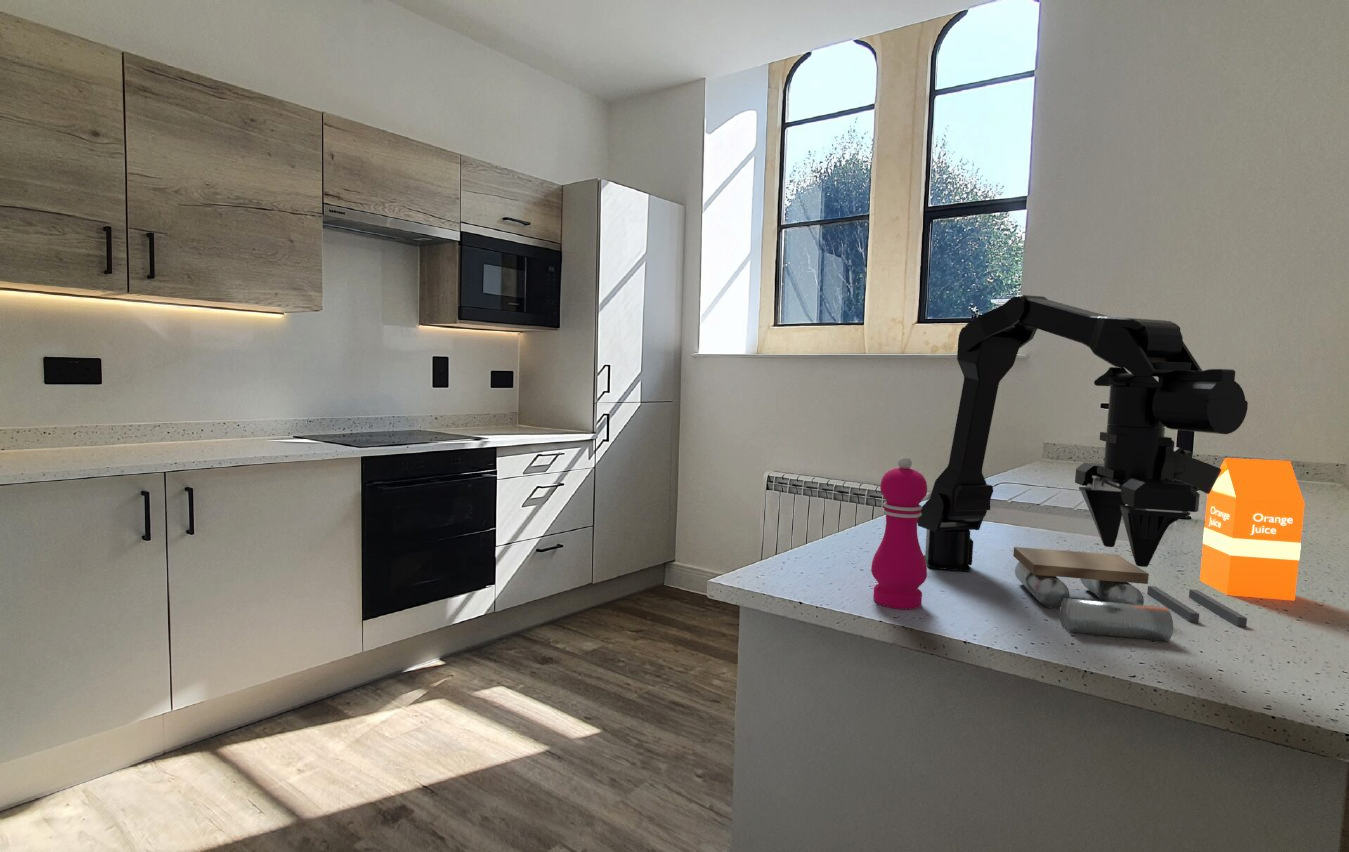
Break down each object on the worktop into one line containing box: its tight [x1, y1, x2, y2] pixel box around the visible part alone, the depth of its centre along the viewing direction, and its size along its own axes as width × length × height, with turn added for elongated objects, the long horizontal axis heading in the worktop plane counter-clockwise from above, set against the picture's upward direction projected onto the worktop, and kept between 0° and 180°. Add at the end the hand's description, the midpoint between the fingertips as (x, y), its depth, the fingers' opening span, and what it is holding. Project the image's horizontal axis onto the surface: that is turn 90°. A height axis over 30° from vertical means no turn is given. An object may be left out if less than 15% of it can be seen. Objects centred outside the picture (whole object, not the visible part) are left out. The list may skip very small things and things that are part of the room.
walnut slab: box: [1012, 546, 1150, 585], centre depth 98 cm, size 14×10×1 cm
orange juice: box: [1199, 457, 1306, 601], centre depth 105 cm, size 8×9×20 cm
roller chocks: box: [1146, 585, 1248, 628], centre depth 95 cm, size 6×12×1 cm, turn 168°
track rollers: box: [1014, 561, 1145, 609], centre depth 98 cm, size 13×11×4 cm
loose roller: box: [1059, 598, 1174, 642], centre depth 85 cm, size 11×4×4 cm
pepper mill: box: [870, 456, 928, 610], centre depth 94 cm, size 7×7×20 cm
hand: (1124, 555), depth 83 cm, fingers open, 9 cm apart
